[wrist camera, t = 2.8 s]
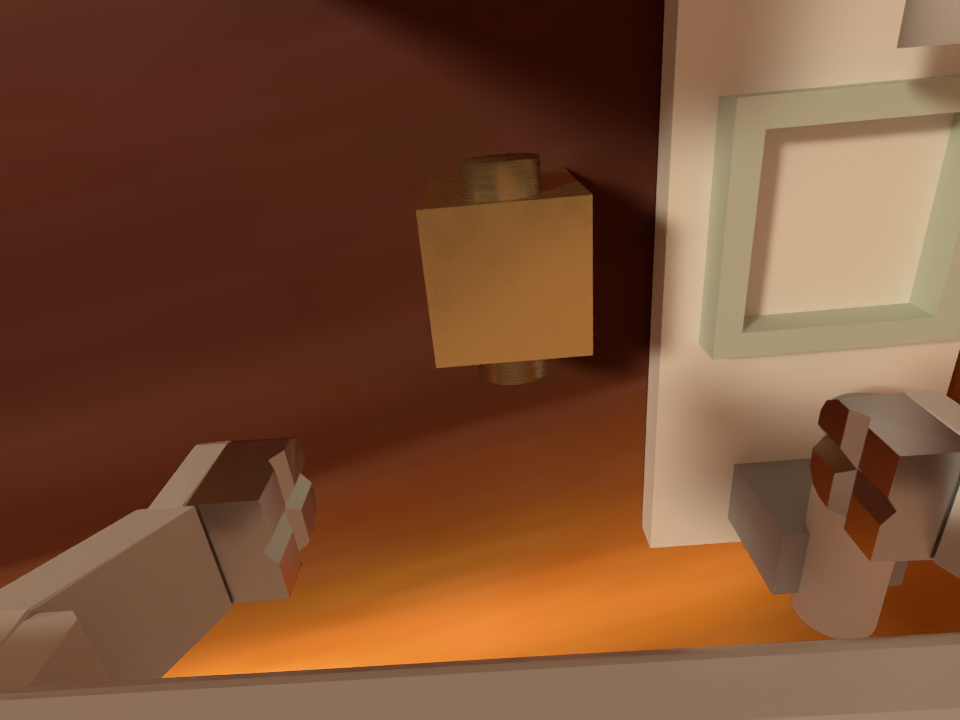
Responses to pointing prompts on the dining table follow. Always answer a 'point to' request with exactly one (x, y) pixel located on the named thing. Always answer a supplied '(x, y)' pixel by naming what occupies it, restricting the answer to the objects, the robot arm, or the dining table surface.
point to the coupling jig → (796, 269)
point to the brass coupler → (508, 266)
